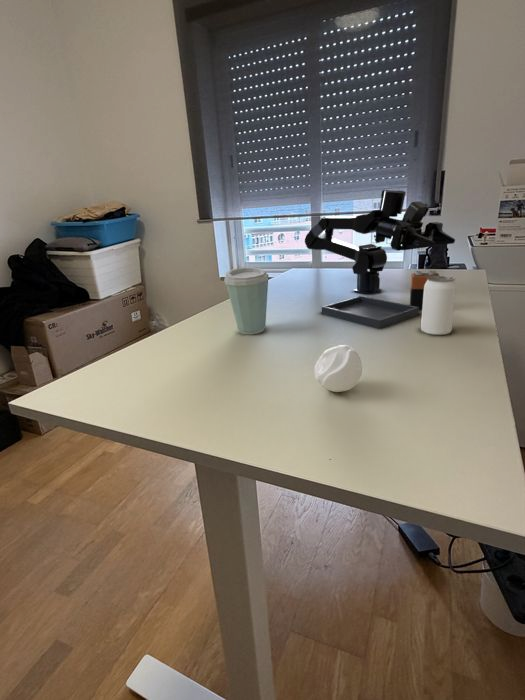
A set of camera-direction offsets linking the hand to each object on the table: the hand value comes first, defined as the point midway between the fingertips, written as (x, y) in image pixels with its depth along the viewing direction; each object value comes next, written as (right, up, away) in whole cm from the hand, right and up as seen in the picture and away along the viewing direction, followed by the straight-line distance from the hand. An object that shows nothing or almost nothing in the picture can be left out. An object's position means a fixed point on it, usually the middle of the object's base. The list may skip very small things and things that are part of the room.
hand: (444, 242), depth 106 cm
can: (-8, -24, -14) cm, 29 cm away
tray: (-19, -18, +2) cm, 27 cm away
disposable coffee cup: (-50, -23, -5) cm, 56 cm away
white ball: (-35, -35, -38) cm, 62 cm away
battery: (-4, -17, +4) cm, 18 cm away
